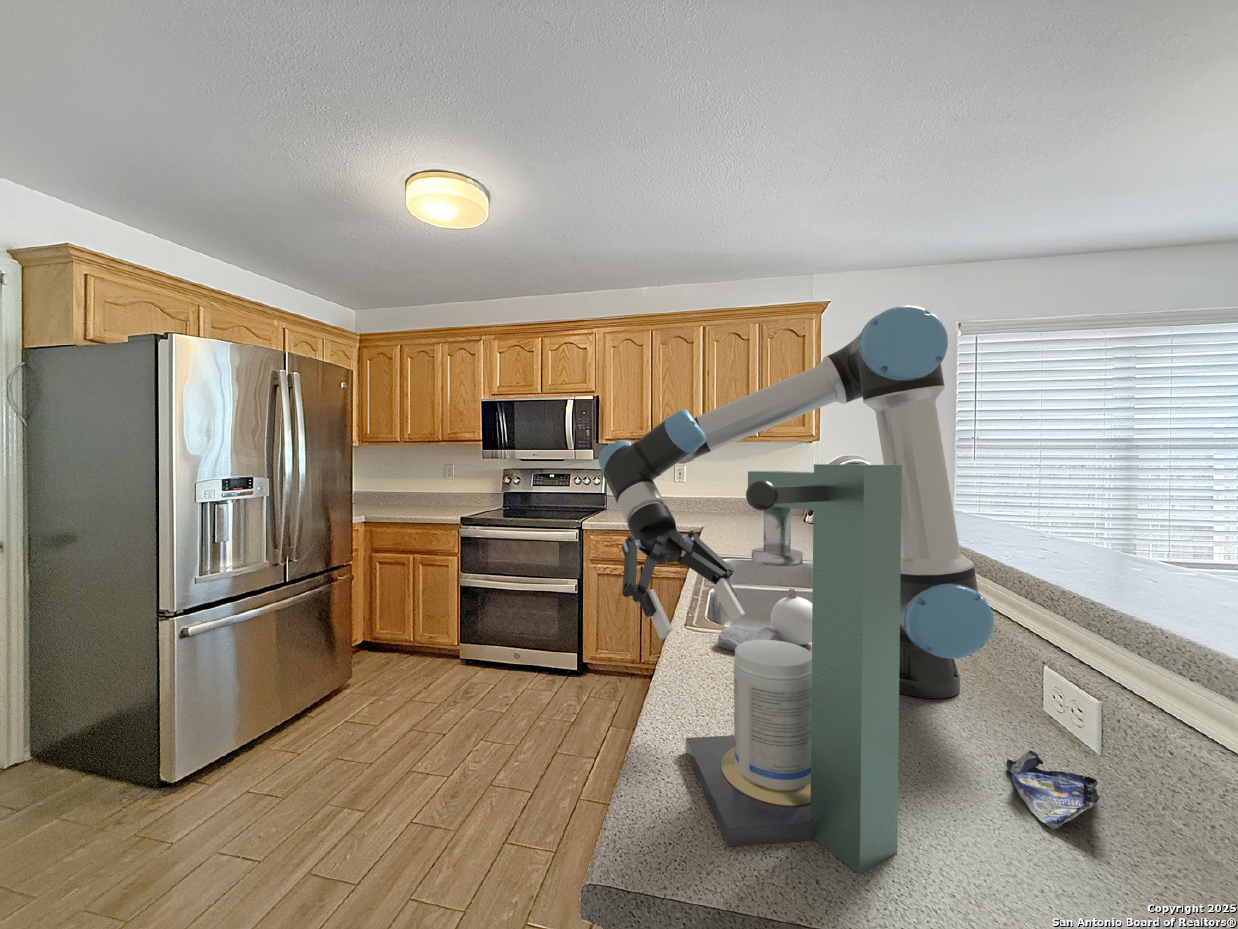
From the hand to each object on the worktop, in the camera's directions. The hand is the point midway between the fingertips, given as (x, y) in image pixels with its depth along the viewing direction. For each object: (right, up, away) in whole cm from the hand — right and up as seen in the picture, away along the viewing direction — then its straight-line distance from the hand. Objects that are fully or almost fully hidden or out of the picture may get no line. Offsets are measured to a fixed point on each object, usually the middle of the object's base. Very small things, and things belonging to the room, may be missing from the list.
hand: (704, 626), depth 78 cm
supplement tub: (+6, -14, -13) cm, 20 cm away
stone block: (+15, -16, +36) cm, 43 cm away
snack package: (+39, -17, -14) cm, 45 cm away
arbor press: (+7, -16, -15) cm, 23 cm away
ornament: (+26, -16, +39) cm, 50 cm away
